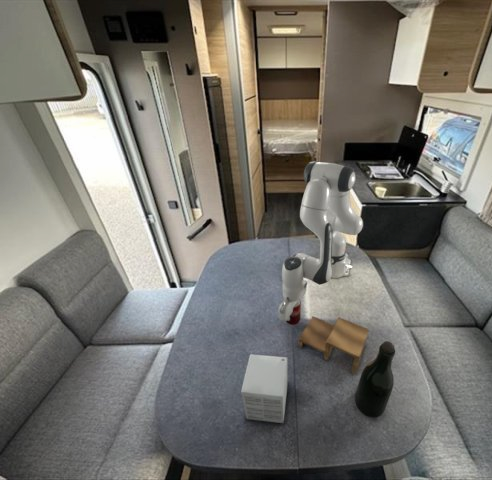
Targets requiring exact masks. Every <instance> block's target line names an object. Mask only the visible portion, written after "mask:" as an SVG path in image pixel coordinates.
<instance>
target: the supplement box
mask: <svg viewBox="0 0 492 480" xmlns="http://www.w3.org/2000/svg"><path fill="white" fill-rule="evenodd" d="M247 361H248V362H247V366H246V370H245V374H244V378H243V382H242V387H241V389H240V390H241V391H240V393H241V398H242V403H243V408H244V413H245V419H247V420H253V421H262V422H271V423H277V424H278V423H280V424H284V421H285V411H286V403H287V395H288V394H287V393H288V386H289V385H288V380H289V379H288V357H285V356H273V355H265V354H264V355H263V354H262V355H261V354H252V353H251V354H249V358H248V360H247Z"/></svg>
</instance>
